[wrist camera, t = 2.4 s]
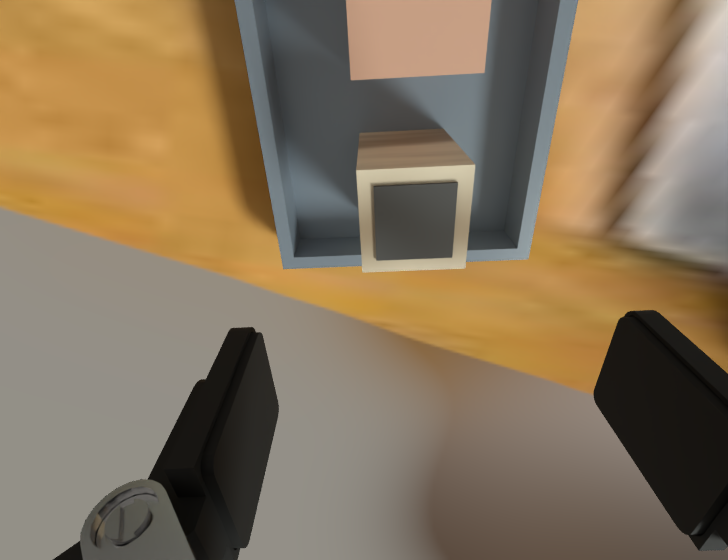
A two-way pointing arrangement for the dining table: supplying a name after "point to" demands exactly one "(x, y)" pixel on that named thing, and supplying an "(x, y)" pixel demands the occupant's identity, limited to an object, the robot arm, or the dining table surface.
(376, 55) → the terracotta box
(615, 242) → the dining table surface
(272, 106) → the slate bin
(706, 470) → the robot arm
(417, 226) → the birch box
